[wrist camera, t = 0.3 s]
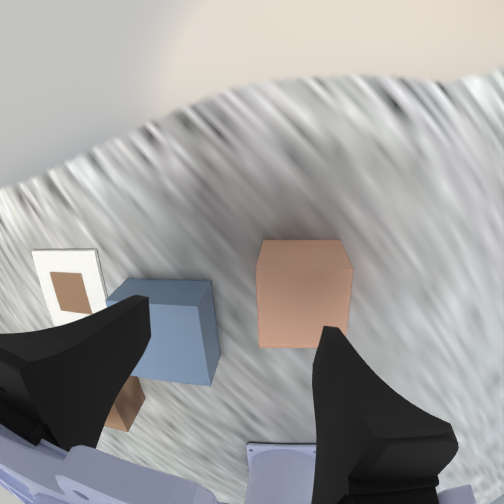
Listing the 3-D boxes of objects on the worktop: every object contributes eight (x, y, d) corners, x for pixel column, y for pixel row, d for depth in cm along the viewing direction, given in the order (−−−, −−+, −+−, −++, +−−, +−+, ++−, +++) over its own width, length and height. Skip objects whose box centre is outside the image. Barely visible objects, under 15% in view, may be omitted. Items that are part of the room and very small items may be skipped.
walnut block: (145, 398, 29) (127, 432, 24) (105, 389, 30) (85, 420, 25) (132, 361, 27) (110, 395, 22) (90, 353, 28) (66, 384, 23)
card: (117, 332, 26) (115, 335, 25) (56, 323, 27) (53, 325, 26) (96, 249, 23) (93, 251, 23) (34, 249, 24) (30, 251, 24)
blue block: (220, 353, 25) (210, 385, 22) (146, 347, 26) (128, 375, 23) (212, 279, 23) (197, 306, 19) (129, 277, 24) (104, 300, 20)
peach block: (335, 306, 22) (344, 347, 18) (265, 306, 23) (259, 347, 19) (339, 239, 21) (353, 269, 16) (263, 239, 21) (255, 269, 17)
